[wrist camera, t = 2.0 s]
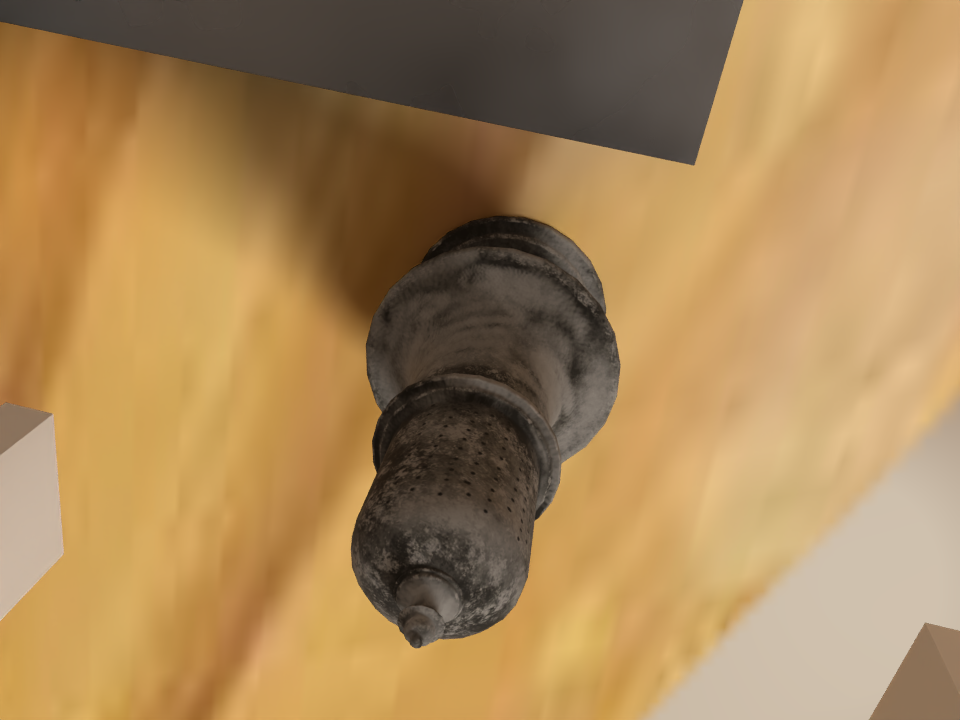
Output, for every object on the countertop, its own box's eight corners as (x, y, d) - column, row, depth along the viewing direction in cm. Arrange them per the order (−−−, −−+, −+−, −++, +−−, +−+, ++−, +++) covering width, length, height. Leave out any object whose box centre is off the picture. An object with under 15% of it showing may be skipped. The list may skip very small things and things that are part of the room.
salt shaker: (535, 158, 20) (460, 380, 9) (659, 343, 22) (717, 713, 11) (356, 281, 22) (122, 580, 11) (481, 441, 24) (382, 833, 13)
